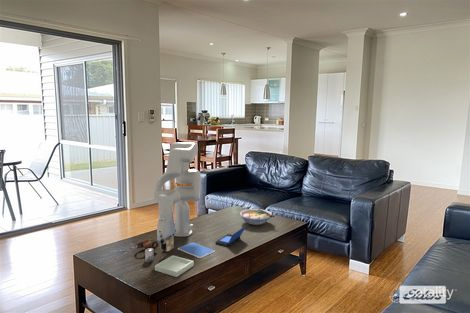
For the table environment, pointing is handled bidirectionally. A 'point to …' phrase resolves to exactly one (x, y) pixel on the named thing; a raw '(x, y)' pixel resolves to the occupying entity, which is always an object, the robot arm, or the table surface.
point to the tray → (174, 265)
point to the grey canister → (149, 255)
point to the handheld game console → (230, 238)
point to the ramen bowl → (256, 216)
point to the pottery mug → (147, 245)
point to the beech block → (169, 243)
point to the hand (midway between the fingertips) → (167, 247)
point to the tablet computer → (196, 250)
